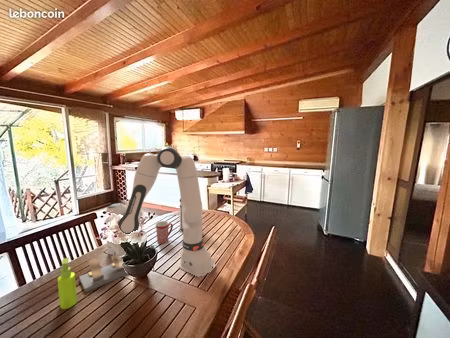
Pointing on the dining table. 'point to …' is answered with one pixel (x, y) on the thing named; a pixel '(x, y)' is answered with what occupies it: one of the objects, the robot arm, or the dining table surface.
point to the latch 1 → (96, 269)
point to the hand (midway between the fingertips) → (116, 256)
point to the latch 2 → (118, 263)
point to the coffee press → (181, 217)
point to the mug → (163, 231)
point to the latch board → (109, 275)
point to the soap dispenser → (67, 286)
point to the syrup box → (109, 249)
